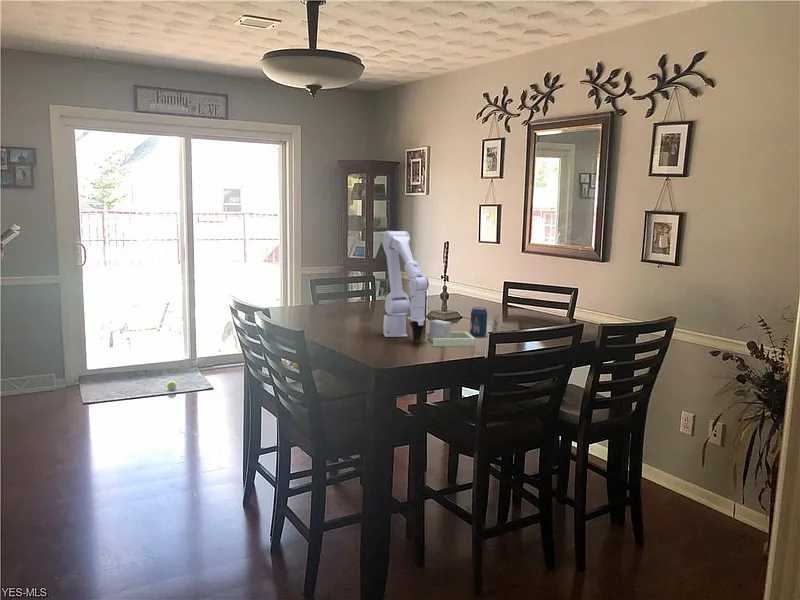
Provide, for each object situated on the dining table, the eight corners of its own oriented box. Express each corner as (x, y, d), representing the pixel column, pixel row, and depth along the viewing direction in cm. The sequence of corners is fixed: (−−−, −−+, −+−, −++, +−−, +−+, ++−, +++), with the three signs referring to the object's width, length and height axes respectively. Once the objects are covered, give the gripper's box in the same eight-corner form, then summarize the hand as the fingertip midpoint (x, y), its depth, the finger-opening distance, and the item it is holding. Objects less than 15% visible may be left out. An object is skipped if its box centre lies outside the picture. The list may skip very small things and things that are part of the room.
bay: (433, 346, 250) (433, 339, 249) (426, 338, 264) (426, 331, 263) (475, 346, 252) (475, 338, 252) (466, 338, 267) (466, 331, 266)
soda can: (483, 334, 277) (484, 307, 276) (488, 337, 270) (489, 309, 269) (468, 334, 276) (469, 307, 274) (472, 337, 269) (473, 309, 268)
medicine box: (450, 343, 257) (451, 322, 255) (443, 344, 254) (443, 323, 252) (436, 340, 262) (437, 319, 261) (429, 341, 259) (429, 320, 258)
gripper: (404, 303, 260) (403, 336, 262) (411, 309, 246) (410, 343, 248) (421, 303, 261) (420, 336, 263) (429, 309, 247) (428, 343, 249)
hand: (416, 339), depth 256 cm, fingers closed
